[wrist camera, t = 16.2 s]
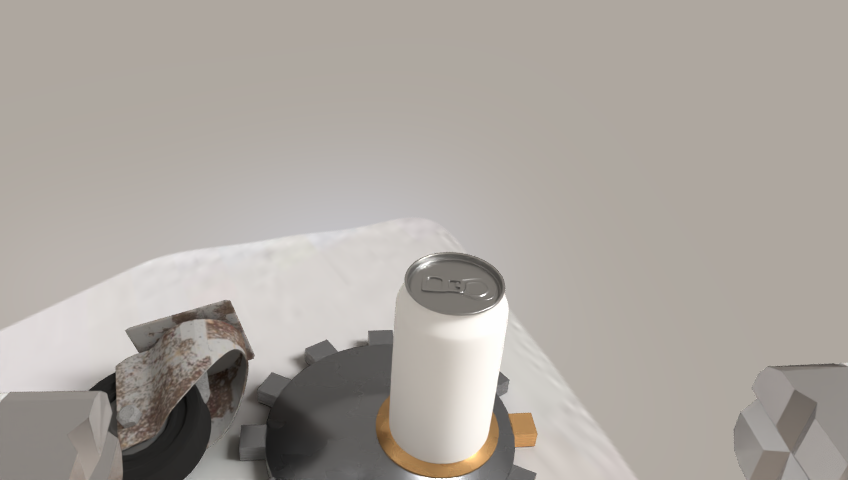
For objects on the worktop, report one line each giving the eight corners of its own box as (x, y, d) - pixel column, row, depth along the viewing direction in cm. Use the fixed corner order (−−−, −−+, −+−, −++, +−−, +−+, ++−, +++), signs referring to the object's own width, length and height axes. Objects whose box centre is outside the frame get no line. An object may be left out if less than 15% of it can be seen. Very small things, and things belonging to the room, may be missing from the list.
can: (487, 474, 46) (513, 325, 39) (381, 462, 46) (389, 312, 39) (489, 396, 51) (512, 253, 44) (394, 385, 52) (403, 242, 45)
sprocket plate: (227, 591, 40) (226, 576, 39) (251, 346, 56) (250, 332, 55) (570, 566, 43) (575, 552, 42) (502, 338, 58) (504, 325, 57)
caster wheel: (93, 537, 45) (93, 399, 52) (277, 477, 47) (254, 351, 53) (42, 488, 40) (49, 343, 47) (250, 423, 42) (228, 292, 49)
